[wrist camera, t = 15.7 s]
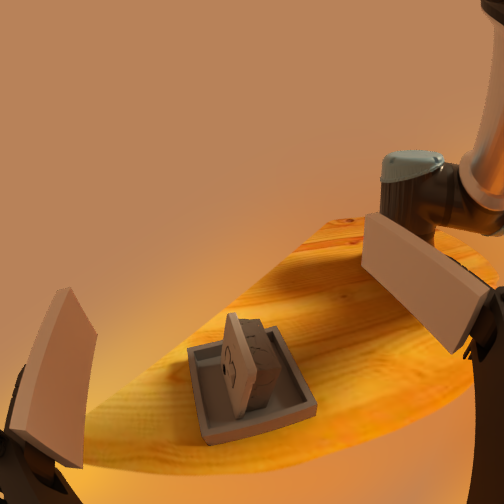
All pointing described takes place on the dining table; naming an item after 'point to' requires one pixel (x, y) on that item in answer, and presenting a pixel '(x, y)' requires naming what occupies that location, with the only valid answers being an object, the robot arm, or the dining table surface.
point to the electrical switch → (248, 364)
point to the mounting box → (255, 422)
